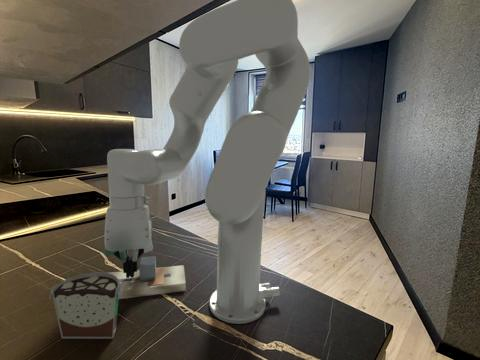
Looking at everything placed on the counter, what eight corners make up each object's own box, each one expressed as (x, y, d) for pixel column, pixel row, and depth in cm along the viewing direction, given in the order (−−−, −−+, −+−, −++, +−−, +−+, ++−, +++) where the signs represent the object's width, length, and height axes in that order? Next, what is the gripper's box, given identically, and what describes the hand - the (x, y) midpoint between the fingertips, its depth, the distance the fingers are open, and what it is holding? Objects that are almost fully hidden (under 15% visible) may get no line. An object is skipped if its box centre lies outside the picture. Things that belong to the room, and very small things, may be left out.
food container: (134, 315, 53) (132, 271, 51) (121, 338, 47) (119, 289, 45) (73, 315, 52) (70, 270, 51) (53, 338, 46) (48, 288, 45)
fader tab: (156, 270, 66) (155, 256, 65) (155, 279, 62) (154, 264, 61) (141, 271, 65) (141, 257, 64) (139, 281, 61) (139, 265, 60)
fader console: (183, 271, 70) (183, 264, 70) (185, 290, 62) (185, 282, 61) (95, 281, 64) (95, 273, 64) (84, 303, 56) (83, 294, 56)
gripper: (161, 197, 65) (162, 264, 68) (96, 199, 61) (100, 270, 64) (160, 205, 58) (162, 279, 61) (86, 208, 53) (92, 287, 56)
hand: (130, 274), depth 62 cm, fingers closed
